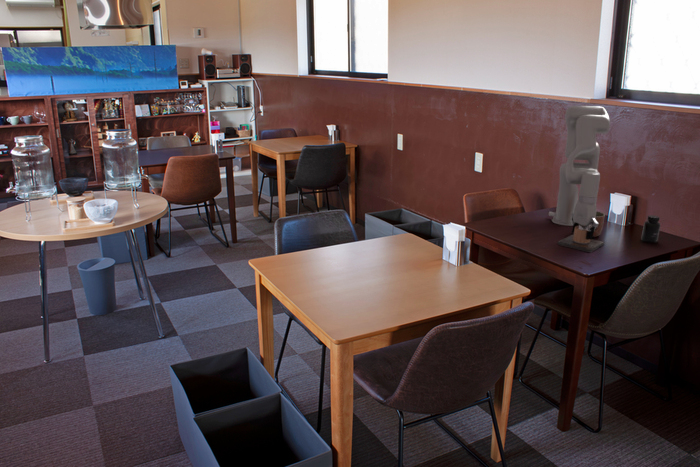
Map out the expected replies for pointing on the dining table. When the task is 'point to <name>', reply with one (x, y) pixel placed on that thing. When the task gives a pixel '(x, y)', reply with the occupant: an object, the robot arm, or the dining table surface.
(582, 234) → the wooden mug
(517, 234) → the dining table surface
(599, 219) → the planter
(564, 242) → the cylinder on square base
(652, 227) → the supplement bottle
